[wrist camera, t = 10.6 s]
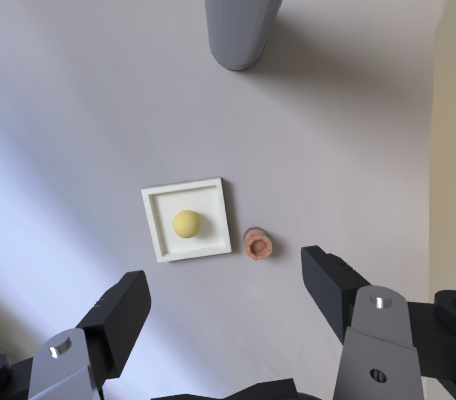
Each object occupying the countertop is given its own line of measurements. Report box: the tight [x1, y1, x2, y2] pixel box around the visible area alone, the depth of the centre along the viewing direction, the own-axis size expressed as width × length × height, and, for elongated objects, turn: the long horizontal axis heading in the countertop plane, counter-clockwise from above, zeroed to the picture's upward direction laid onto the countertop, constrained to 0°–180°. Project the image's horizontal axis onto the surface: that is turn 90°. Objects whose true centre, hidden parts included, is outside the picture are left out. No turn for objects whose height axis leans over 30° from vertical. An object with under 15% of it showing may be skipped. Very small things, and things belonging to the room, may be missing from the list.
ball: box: [173, 210, 201, 238], centre depth 38 cm, size 5×5×5 cm
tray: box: [141, 177, 231, 263], centre depth 40 cm, size 14×14×2 cm
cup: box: [244, 227, 272, 260], centre depth 40 cm, size 5×5×5 cm
